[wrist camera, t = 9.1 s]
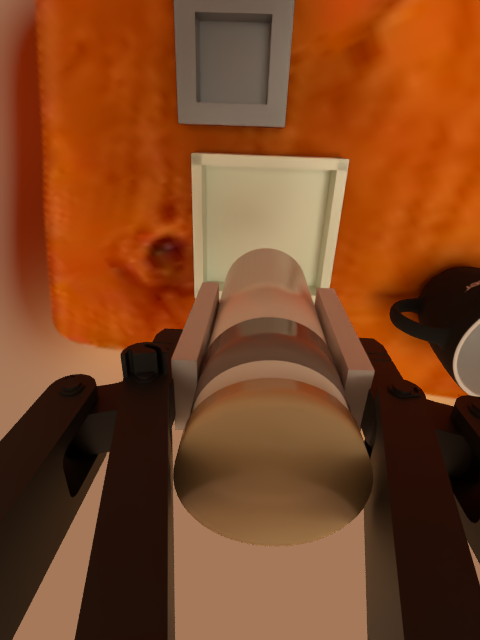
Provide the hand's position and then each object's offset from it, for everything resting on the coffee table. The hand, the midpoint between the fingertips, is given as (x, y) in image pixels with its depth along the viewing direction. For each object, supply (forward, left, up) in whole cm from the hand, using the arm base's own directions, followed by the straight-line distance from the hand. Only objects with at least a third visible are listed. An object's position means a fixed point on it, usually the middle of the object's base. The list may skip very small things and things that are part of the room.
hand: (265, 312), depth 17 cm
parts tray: (0, 0, -18) cm, 18 cm away
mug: (+6, +17, -18) cm, 26 cm away
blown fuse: (0, 0, -3) cm, 3 cm away
